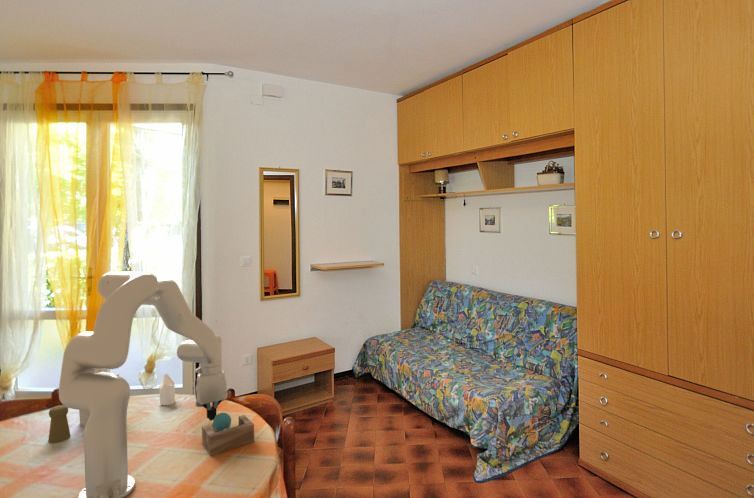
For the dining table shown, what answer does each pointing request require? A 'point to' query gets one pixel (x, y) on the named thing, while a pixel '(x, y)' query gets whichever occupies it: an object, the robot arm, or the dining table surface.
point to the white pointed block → (167, 391)
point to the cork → (58, 424)
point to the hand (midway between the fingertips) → (211, 418)
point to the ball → (222, 421)
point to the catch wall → (228, 436)
